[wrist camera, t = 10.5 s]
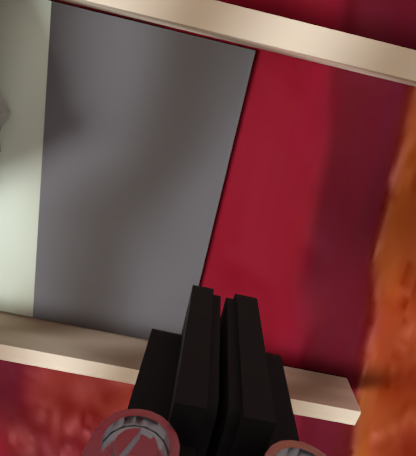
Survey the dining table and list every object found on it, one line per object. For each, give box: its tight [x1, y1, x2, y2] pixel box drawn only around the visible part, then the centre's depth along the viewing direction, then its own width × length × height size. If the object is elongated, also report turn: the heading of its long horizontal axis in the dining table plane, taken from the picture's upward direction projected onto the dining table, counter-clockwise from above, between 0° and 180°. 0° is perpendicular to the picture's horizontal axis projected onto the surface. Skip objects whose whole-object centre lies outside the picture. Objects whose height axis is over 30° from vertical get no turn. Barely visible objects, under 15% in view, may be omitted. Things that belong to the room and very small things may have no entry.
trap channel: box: [0, 0, 416, 425], centre depth 14 cm, size 32×15×2 cm, turn 78°
